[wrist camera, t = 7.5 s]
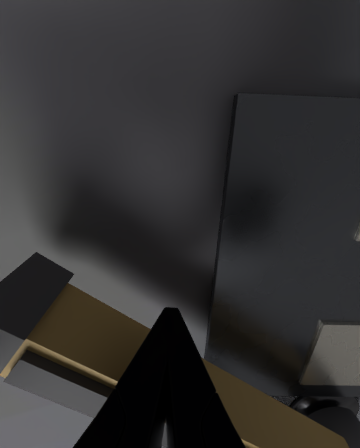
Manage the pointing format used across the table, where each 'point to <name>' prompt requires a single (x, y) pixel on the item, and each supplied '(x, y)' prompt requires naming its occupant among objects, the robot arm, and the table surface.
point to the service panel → (290, 251)
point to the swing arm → (127, 362)
